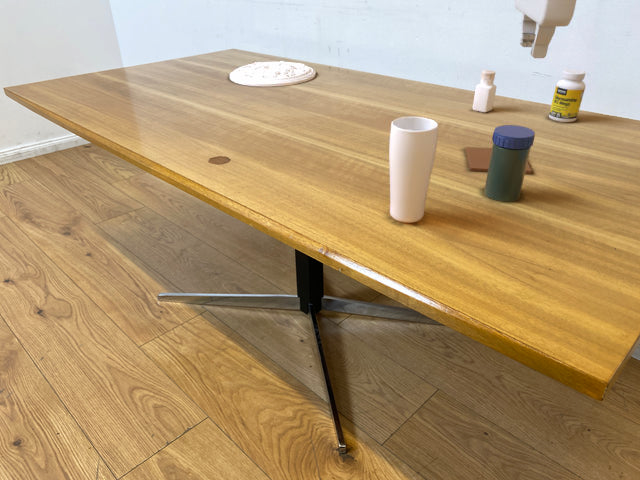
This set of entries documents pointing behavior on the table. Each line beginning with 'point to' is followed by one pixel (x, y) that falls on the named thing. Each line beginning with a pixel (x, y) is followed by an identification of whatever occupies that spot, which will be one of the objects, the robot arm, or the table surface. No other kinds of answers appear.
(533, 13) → the robot arm
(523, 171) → the jar
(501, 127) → the lid
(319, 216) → the table surface
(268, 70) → the ceiling medallion
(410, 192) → the drinking glass
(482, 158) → the coaster
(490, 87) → the white corked bottle
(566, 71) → the pill bottle
